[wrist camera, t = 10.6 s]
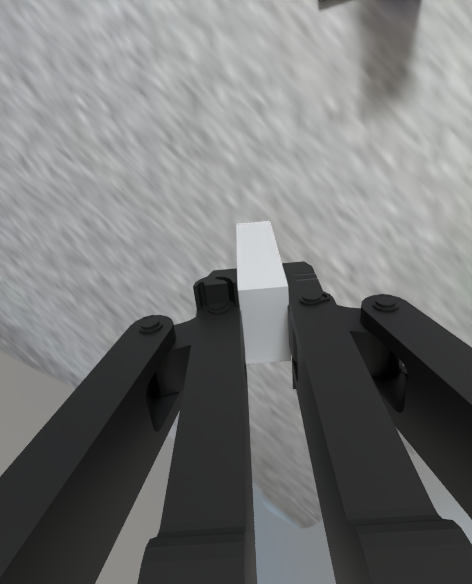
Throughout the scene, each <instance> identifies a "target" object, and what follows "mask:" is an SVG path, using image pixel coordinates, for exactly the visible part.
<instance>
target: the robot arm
mask: <svg viewBox="0 0 472 584" xmlns="http://www.w3.org/2000/svg"><path fill="white" fill-rule="evenodd" d="M193 289H194V295H195V301H196V307H197V314H196V317H195V318H193V319H191V320H189V321H187V322H184V323H181V324H177V325H174V324H173V321H172V319H171V318H169V317H167V316H162V315H151V316H146V317H143V318H142V319H140V320H138V321H136V322H134V323H133V324H132V325H131V326H130V327H129V328H128V329H127V330H126V332H125V333H124V334H123V335H122V336H121V337H120V338H119V340H118V341H117V342H116V343H115V344H114V345H113V347H112V348H111V349H110V350H109V351H108V352H107V354H106V355H105V356H104V357H103V358H102V359H101V361H100V362H99V363H98V364H97V365H96V366H95V367H94V369H93V370H92V371H91V372H90V373H89V374H88V376H87V377H86V378H85V379H84V380H83V381H82V383H81V384H80V385H79V386H78V387H77V388H76V390H75V391H74V392H73V393H72V394H71V395H70V397H69V398H68V399H67V400H66V401H65V402H64V404H63V405H62V406H61V407H60V408H59V409H58V410H57V412H56V413H55V414H54V415H53V416H52V417H51V419H50V420H49V421H48V422H47V423H46V424H45V426H44V427H43V428H42V429H41V430H40V431H39V432H38V434H37V435H36V436H35V437H34V438H33V439H32V441H31V442H30V443H29V444H28V445H27V446H26V448H25V449H24V450H23V451H22V452H21V453H20V455H19V456H18V457H17V458H16V459H15V460H14V461H13V463H12V464H11V465H10V466H9V467H8V469H7V470H6V471H5V472H4V473H3V474H2V475H1V477H0V584H95V582H96V580H97V578H98V576H99V574H100V572H101V570H102V568H103V566H104V564H105V561H106V560H107V558H108V556H109V554H110V552H111V550H112V547H113V545H114V543H115V541H116V539H117V537H118V535H119V533H120V531H121V529H122V527H123V525H124V523H125V521H126V519H127V517H128V515H129V513H130V510H131V509H132V507H133V504H134V502H135V500H136V498H137V496H138V494H139V492H140V490H141V488H142V486H143V484H144V482H145V480H146V478H147V476H148V473H149V472H150V470H151V468H152V466H153V464H154V461H155V459H156V457H157V455H158V453H159V451H160V449H161V447H162V445H163V443H164V441H165V439H166V437H167V435H168V433H169V431H170V429H171V427H172V425H173V423H174V421H175V418H176V416H177V414H178V412H179V410H180V413H179V419H178V425H177V431H176V437H175V443H174V449H173V455H172V460H171V467H170V472H169V479H168V484H167V490H166V496H165V502H164V508H163V513H162V519H161V525H160V530H159V533H158V535H157V537H155V538H152V539H150V540H149V542H148V544H147V546H146V548H145V552H144V556H143V560H142V563H141V569H140V574H139V579H138V584H257V575H256V552H255V531H254V511H253V490H252V469H251V448H250V427H249V406H248V385H247V370H246V364H254V363H267V362H279V361H291V355H292V373H293V389H296V390H297V395H298V400H299V405H300V410H301V415H302V419H303V424H304V429H305V434H306V439H307V444H308V449H309V454H310V458H311V463H312V468H313V473H314V478H315V483H316V488H317V493H318V497H319V502H320V507H321V512H322V517H323V522H324V527H325V532H326V536H327V541H328V546H329V551H330V556H331V561H332V566H333V570H334V575H335V580H336V584H472V544H471V543H470V541H469V540H468V538H467V536H466V535H465V533H464V532H463V530H462V529H461V527H460V526H459V525H457V524H456V523H455V522H454V521H453V520H447V519H442V518H441V517H440V516H439V515H438V513H437V512H436V510H435V508H434V506H433V504H432V502H431V500H430V498H429V496H428V494H427V492H426V490H425V488H424V486H423V484H422V481H421V479H420V477H419V475H418V473H417V471H416V469H415V467H414V465H413V463H412V461H411V459H410V456H409V454H408V452H407V450H406V448H405V446H404V444H403V442H402V440H401V438H400V436H399V434H398V431H397V429H398V430H399V431H400V433H401V434H402V435H403V436H404V437H405V439H406V440H407V441H408V442H409V444H410V445H411V446H412V447H413V448H414V450H415V451H416V452H417V453H418V455H419V456H420V457H421V458H422V459H423V461H424V462H425V463H426V464H427V466H428V467H429V468H430V469H431V470H432V471H433V473H434V474H435V475H436V476H437V478H438V479H439V480H440V481H441V483H442V484H443V485H444V486H445V487H446V489H447V490H448V491H449V492H450V493H451V495H452V496H453V497H454V498H455V500H456V501H457V502H458V503H459V504H460V506H461V507H462V508H463V509H464V511H465V512H466V513H467V514H468V515H469V517H470V518H471V519H472V347H470V346H469V345H467V344H466V343H465V342H463V341H462V340H460V339H459V338H457V337H456V336H455V335H453V334H452V333H450V332H449V331H448V330H446V329H445V328H443V327H442V326H441V325H439V324H438V323H436V322H435V321H434V320H432V319H431V318H429V317H428V316H427V315H425V314H424V313H422V312H421V311H420V310H418V309H417V308H415V307H414V306H413V305H411V304H410V303H408V302H407V301H405V300H403V299H401V298H399V297H396V296H392V295H388V294H386V295H385V294H379V295H373V296H370V297H367V298H365V299H364V300H363V301H362V305H361V308H349V307H343V306H339V305H337V304H336V302H335V300H334V298H333V297H332V296H331V295H330V294H328V293H326V292H323V290H322V287H321V285H320V283H319V281H318V279H317V276H316V274H315V272H314V270H313V268H312V266H311V265H309V264H307V263H306V262H293V263H282V262H281V259H280V255H279V252H278V248H277V244H276V241H275V237H274V234H273V230H272V227H271V223H270V221H262V222H252V223H241V224H237V269H226V270H215V271H212V272H211V273H210V274H209V275H208V276H207V277H205V278H202V279H200V280H199V281H197V282H196V283H195V284H194V286H193ZM403 364H404V365H403ZM396 428H397V429H396Z"/></svg>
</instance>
